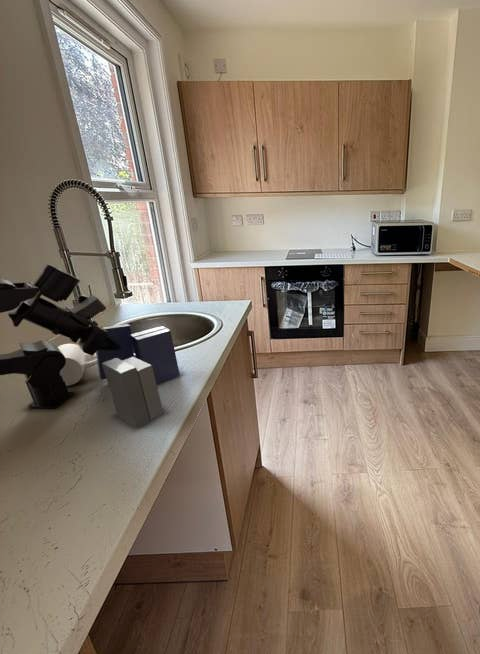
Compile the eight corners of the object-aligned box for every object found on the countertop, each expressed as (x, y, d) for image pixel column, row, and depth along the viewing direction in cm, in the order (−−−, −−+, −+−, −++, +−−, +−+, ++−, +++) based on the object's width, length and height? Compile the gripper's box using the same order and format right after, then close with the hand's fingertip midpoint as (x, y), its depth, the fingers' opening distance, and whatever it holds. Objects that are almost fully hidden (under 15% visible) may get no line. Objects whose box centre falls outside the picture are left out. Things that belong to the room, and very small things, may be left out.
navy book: (101, 379, 88) (94, 330, 84) (99, 377, 90) (92, 328, 86) (136, 372, 93) (130, 325, 90) (133, 369, 95) (127, 323, 91)
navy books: (149, 387, 87) (137, 340, 82) (141, 380, 91) (129, 334, 86) (180, 375, 92) (170, 330, 87) (172, 369, 96) (162, 325, 91)
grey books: (117, 415, 76) (101, 363, 71) (144, 402, 81) (131, 352, 76) (136, 428, 72) (121, 373, 67) (164, 413, 77) (151, 361, 72)
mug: (49, 390, 87) (39, 361, 84) (57, 373, 95) (47, 346, 92) (104, 378, 92) (96, 351, 89) (107, 363, 100) (99, 337, 97)
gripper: (85, 295, 74) (150, 329, 85) (65, 281, 86) (124, 312, 97) (52, 340, 72) (123, 368, 83) (37, 319, 84) (100, 347, 95)
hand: (118, 346), depth 90 cm, fingers closed on navy book, 2 cm apart
